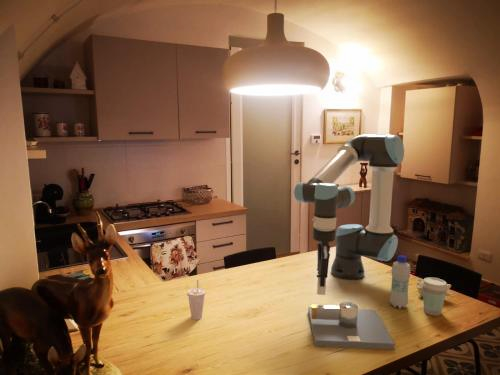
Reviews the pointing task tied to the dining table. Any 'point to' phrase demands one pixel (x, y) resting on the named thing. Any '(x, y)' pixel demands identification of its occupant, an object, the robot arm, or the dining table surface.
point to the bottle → (400, 282)
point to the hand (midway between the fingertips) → (321, 293)
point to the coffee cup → (433, 295)
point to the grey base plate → (352, 332)
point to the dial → (337, 313)
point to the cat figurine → (420, 288)
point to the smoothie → (196, 302)
